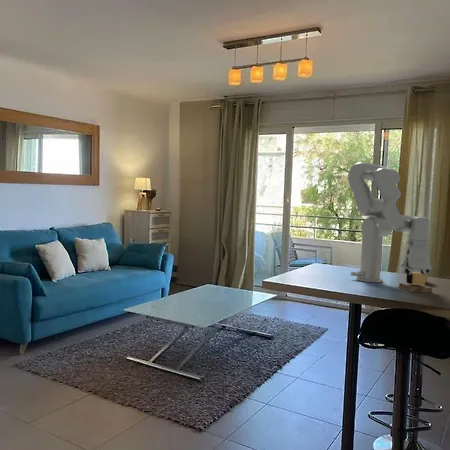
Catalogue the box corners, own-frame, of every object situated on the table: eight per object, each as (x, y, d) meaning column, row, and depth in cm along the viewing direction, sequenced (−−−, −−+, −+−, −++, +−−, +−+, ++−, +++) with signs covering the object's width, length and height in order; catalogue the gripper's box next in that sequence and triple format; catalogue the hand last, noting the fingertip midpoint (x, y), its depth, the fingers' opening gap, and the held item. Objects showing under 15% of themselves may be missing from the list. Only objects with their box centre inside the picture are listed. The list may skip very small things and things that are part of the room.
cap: (413, 285, 204) (414, 274, 204) (406, 282, 210) (407, 272, 209) (424, 285, 205) (425, 274, 205) (417, 283, 211) (418, 272, 210)
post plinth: (411, 292, 202) (412, 280, 202) (399, 287, 212) (399, 276, 211) (431, 292, 204) (432, 281, 203) (418, 287, 213) (419, 277, 213)
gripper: (405, 244, 201) (402, 284, 202) (440, 245, 204) (437, 285, 205) (396, 242, 209) (393, 281, 210) (430, 243, 212) (427, 282, 213)
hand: (415, 282), depth 207 cm, fingers closed on cap, 5 cm apart
